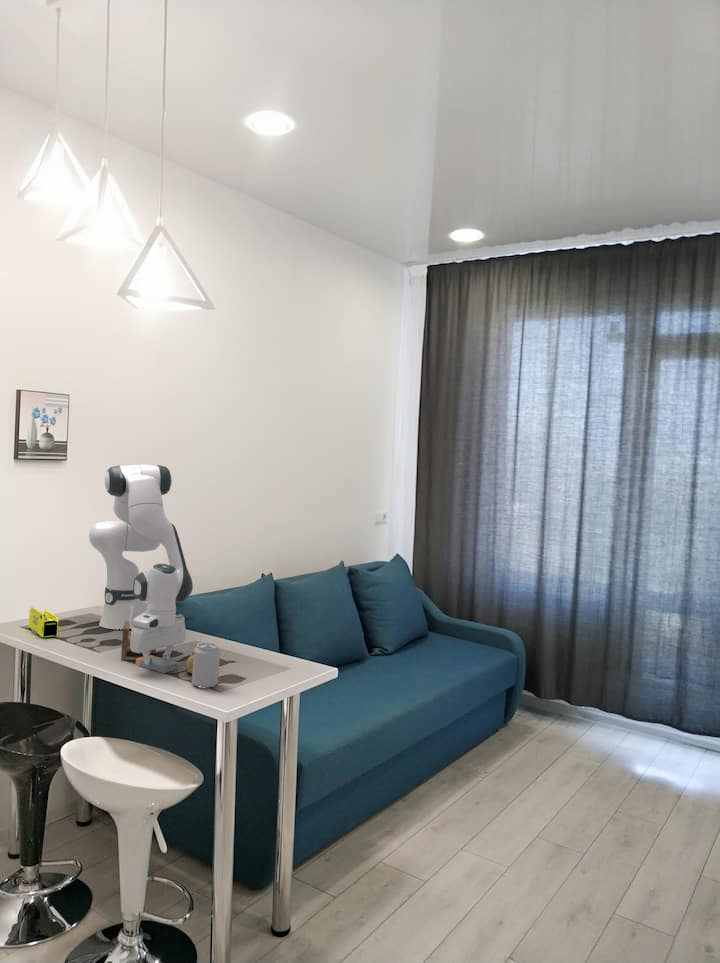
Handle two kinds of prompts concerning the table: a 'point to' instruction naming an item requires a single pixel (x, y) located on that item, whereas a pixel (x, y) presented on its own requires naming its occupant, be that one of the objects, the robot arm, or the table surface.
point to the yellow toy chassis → (43, 623)
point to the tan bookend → (128, 643)
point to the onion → (190, 663)
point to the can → (206, 665)
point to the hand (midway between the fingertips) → (157, 661)
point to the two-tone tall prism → (158, 664)
